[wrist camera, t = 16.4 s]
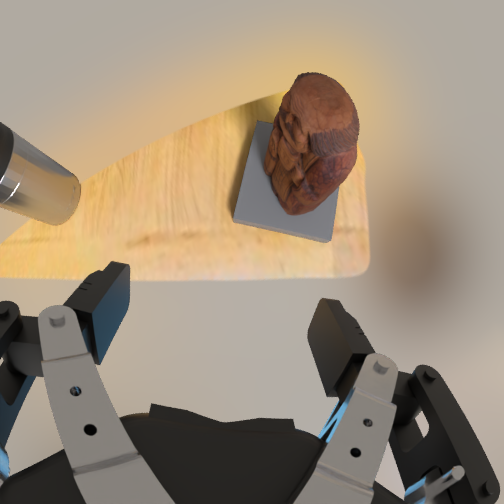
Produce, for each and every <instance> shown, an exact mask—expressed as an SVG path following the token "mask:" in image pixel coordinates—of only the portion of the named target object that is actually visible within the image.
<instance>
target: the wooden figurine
mask: <svg viewBox="0 0 504 504" xmlns="http://www.w3.org/2000/svg"><path fill="white" fill-rule="evenodd" d="M358 135H359V119H358V116H357V110H356V108H355V105H354V103H353V102H352V99H351V98H350V96H349V94H348V93H347V92H346V91H345V89H344V88H343V87H342V86H341V85H340V84H339V83H338V82H337V81H336V80H334V79H332V78H330V77H328V76H327V75H323V74H321V73H320V74H319V73H313V72H312V73H309V72H307V73H302V74H301V75H298V77H297V78H296V79H295V82H294V84H293V85H292V87H291V88H290V90H289V91H288V92H287V93H286V94H285V95H284V97H283V99H282V103H281V106H280V108H279V112H278V114H277V115H276V117H275V119H274V124H273V130H272V132H271V135H270V139H269V144H268V148H267V152H266V156H265V160H264V171H265V174H266V175H268V176H270V177H271V186H272V190H273V193H274V194H275V196H276V197H278V200H279V202H280V204H281V206H282V208H283V209H284V211H285V212H286V213H287V214H288V215H293V216H297V215H301V214H306V213H307V212H311V211H314V209H316V208H317V207H318V206H319V205H320V204H321V203H322V202H324V201H325V200H326V199H327V198H328V196H330V195H331V194H332V193H333V192H334V191H335V190H336V189H337V188H338V187H339V185H340V184H341V183H342V182H343V181H344V180H345V179H346V178H347V176H348V175H349V173H350V172H351V170H352V168H353V167H354V165H355V162H356V159H357V140H358Z"/></svg>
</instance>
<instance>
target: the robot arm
mask: <svg viewBox="0 0 504 504" xmlns="http://www.w3.org/2000/svg"><path fill="white" fill-rule="evenodd" d="M79 198H80V184H79V181H78V179H77V177H76V176H75V175H74V174H73V173H71V172H69V171H68V170H67V169H65V168H64V167H62V166H61V165H60V164H58V163H57V162H55V161H54V160H52V159H51V158H50V157H48V156H47V155H45V154H44V153H42V152H41V151H40V150H38V149H37V148H36V147H34V146H33V145H31V144H30V143H29V142H27V141H26V140H24V139H23V138H21V137H20V136H19V135H17V134H16V133H15V132H13V131H12V130H11V129H10V128H8V127H7V126H5V125H4V124H2V123H1V122H0V207H1V208H4V209H7V210H10V211H12V212H15V213H18V214H21V215H24V216H27V217H29V218H32V219H35V220H38V221H41V222H44V223H47V224H50V225H60V224H62V223H64V222H65V221H67V220H68V219H69V218H70V217H71V215H72V214H73V213H74V211H75V209H76V207H77V205H78V202H79ZM129 302H130V266H129V264H124V263H119V262H115V261H111V262H110V263H109V265H108V266H107V267H106V268H105V269H104V270H103V271H100V270H98V271H96V272H94V273H92V274H90V275H88V277H87V278H86V279H85V280H84V281H83V283H81V284H80V286H79V287H78V288H77V289H76V290H75V291H74V293H73V294H72V295H71V296H70V297H69V298H68V300H67V301H66V302H65V303H64V304H63V305H55V306H51V307H48V308H46V309H44V310H43V311H42V312H41V313H40V314H39V317H32V316H21V315H20V310H19V307H18V305H17V304H15V303H14V302H11V301H1V302H0V359H1V357H2V358H3V360H4V361H3V363H2V364H1V366H0V504H494V503H495V502H496V501H497V500H498V498H499V494H500V486H499V482H498V480H497V478H496V475H495V473H494V471H493V469H492V467H491V464H490V462H489V460H488V458H487V456H486V454H485V452H484V450H483V448H482V446H481V444H480V442H479V440H478V439H477V437H476V435H475V433H474V431H473V429H472V427H471V425H470V424H469V422H468V420H467V418H466V416H465V415H464V413H463V411H462V410H461V408H460V406H459V404H458V403H457V401H456V399H455V398H454V396H453V394H452V393H451V391H450V390H449V388H448V386H447V385H446V383H445V381H444V380H443V378H442V377H441V375H440V374H439V373H438V372H437V371H436V370H435V369H433V368H432V367H430V366H427V365H419V366H417V367H416V369H415V370H414V371H413V373H412V374H409V373H405V372H400V371H398V368H397V366H396V364H395V363H394V362H393V361H392V360H391V359H390V358H388V357H386V356H384V355H382V354H377V353H375V351H374V349H373V347H372V346H371V344H370V343H369V341H368V339H367V337H366V336H365V335H364V332H363V331H362V329H360V326H359V324H358V322H357V321H356V319H355V318H353V317H352V316H351V315H350V314H349V313H348V312H346V311H345V309H344V308H343V306H342V304H341V303H340V301H339V300H333V299H326V298H322V299H321V300H320V301H319V303H318V306H317V308H316V311H315V313H314V316H313V318H312V321H311V323H310V326H309V329H308V342H309V345H310V348H311V351H312V354H313V357H314V360H315V363H316V365H317V369H318V372H319V375H320V378H321V381H322V384H323V387H324V390H325V393H326V396H327V397H338V398H339V401H338V403H337V404H336V405H335V407H334V409H333V411H332V413H331V415H330V417H329V418H328V420H327V422H326V424H325V425H324V427H323V429H322V430H321V432H320V434H319V435H318V437H316V436H315V435H313V434H310V433H308V432H305V431H302V430H299V429H295V426H294V422H293V419H271V418H257V419H250V420H243V421H235V422H227V423H226V422H219V421H216V420H213V419H210V418H207V417H204V416H201V415H198V414H196V413H193V412H190V411H188V410H183V409H177V408H172V407H166V406H161V405H157V404H151V407H150V411H149V413H138V414H131V415H126V416H123V417H120V418H119V417H118V416H117V413H116V411H115V409H114V407H113V405H112V403H111V401H110V399H109V396H108V394H107V392H106V390H105V388H104V385H103V383H102V381H101V378H100V376H99V373H98V371H97V368H96V366H95V364H97V365H100V364H101V362H102V360H103V358H104V356H105V354H106V351H107V350H108V348H109V346H110V343H111V341H112V339H113V337H114V336H115V334H116V332H117V330H118V328H119V326H120V324H121V322H122V320H123V318H124V316H125V314H126V312H127V310H128V306H129ZM36 376H38V377H44V380H45V385H46V389H47V393H48V397H49V401H50V405H51V409H52V412H53V416H54V419H55V423H56V426H57V429H58V432H59V435H60V438H61V441H62V444H63V446H64V449H63V450H61V451H59V452H57V453H55V454H53V455H51V456H50V457H48V458H46V459H44V460H42V461H40V462H38V463H36V464H34V465H32V466H30V467H28V468H26V469H24V470H22V471H20V472H18V473H16V474H13V475H12V476H10V477H9V473H10V468H9V457H8V454H7V451H6V450H5V445H6V443H7V440H8V437H9V435H10V432H11V430H12V427H13V425H14V422H15V420H16V418H17V415H18V413H19V411H20V409H21V406H22V404H23V402H24V400H25V398H26V395H27V393H28V392H29V390H30V387H31V386H32V384H33V382H34V380H35V378H36ZM421 411H423V413H424V415H425V417H426V419H427V421H428V424H429V431H428V433H427V435H426V436H425V437H424V438H423V436H422V433H421V431H420V429H419V427H418V424H417V422H416V420H415V417H416V416H417V415H418V414H419V413H420V412H421ZM388 441H389V444H390V447H391V449H392V452H393V455H394V458H395V461H396V464H397V467H398V470H399V473H400V476H401V479H402V482H403V485H404V488H405V496H404V500H402V499H401V498H399V497H398V496H396V495H395V494H393V493H392V492H390V491H389V490H387V489H386V488H385V487H383V486H382V485H380V484H379V483H377V482H376V481H375V477H376V475H377V472H378V469H379V466H380V463H381V461H382V458H383V454H384V452H385V448H386V445H387V442H388Z"/></svg>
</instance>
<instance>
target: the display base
mask: <svg viewBox="0 0 504 504" xmlns="http://www.w3.org/2000/svg"><path fill="white" fill-rule="evenodd" d="M272 130H273V124H272V123H267V122H262V121H257V124H256V127H255V131H254V135H253V139H252V143H251V147H250V151H249V155H248V159H247V163H246V167H245V171H244V175H243V179H242V183H241V187H240V191H239V196H238V200H237V204H236V208H235V212H234V217H233V222H234V223H239V224H244V225H248V226H253V227H257V228H262V229H266V230H271V231H275V232H280V233H284V234H289V235H293V236H297V237H302V238H306V239H310V240H314V241H319V242H323V243H327V242H329V241H331V239H332V233H333V226H334V220H335V213H336V206H337V198H338V191H339V187H338V188H337V189H336V190H335V191H334V192H333V193H332V194H331V195H330V196H328V198H327V199H326V200H325V201H324V202H322V203H321V204H320V205H319V206H318V207H317V208H316V209H314V211H311V212H307V213H306V214H301V215H297V216H293V215H288V214H287V213H286V212H285V211H284V209H283V208H282V206H281V204H280V202H279V200H278V197H276V196H275V194H274V193H273V190H272V186H271V177H270V176H268V175H266V174H265V171H264V160H265V156H266V152H267V148H268V144H269V139H270V135H271V132H272Z"/></svg>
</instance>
